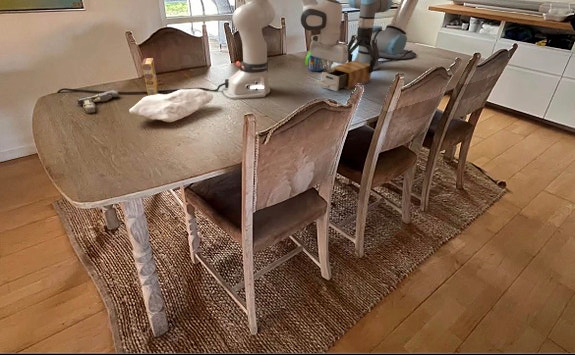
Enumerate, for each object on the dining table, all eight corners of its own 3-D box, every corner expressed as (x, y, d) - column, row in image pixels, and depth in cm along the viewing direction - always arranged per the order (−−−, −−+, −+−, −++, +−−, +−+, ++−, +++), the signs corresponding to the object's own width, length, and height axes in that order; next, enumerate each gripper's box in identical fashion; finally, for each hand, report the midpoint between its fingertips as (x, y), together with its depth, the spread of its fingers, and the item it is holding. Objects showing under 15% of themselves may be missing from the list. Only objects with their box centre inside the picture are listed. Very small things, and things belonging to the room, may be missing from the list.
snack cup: (320, 65, 217) (322, 48, 212) (332, 70, 210) (333, 52, 204) (299, 69, 210) (300, 51, 204) (310, 74, 202) (311, 55, 197)
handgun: (128, 97, 156) (111, 87, 164) (86, 107, 144) (70, 97, 152) (129, 103, 157) (113, 94, 165) (88, 114, 146) (72, 103, 154)
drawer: (328, 94, 173) (330, 79, 170) (312, 88, 179) (313, 74, 175) (357, 83, 188) (359, 70, 185) (342, 79, 194) (343, 66, 190)
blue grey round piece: (426, 55, 246) (429, 41, 242) (391, 61, 229) (393, 46, 224) (387, 47, 271) (389, 34, 267) (353, 52, 254) (354, 38, 249)
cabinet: (348, 89, 183) (350, 71, 178) (331, 84, 190) (332, 66, 185) (369, 81, 195) (372, 64, 190) (352, 76, 202) (354, 60, 197)
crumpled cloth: (117, 110, 146) (113, 90, 140) (195, 92, 166) (194, 73, 160) (143, 139, 134) (140, 118, 128) (223, 116, 154) (224, 96, 148)
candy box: (157, 97, 164) (152, 63, 155) (147, 98, 163) (141, 63, 155) (158, 91, 171) (153, 57, 163) (149, 91, 170) (143, 58, 162)
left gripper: (352, 42, 161) (348, 73, 169) (317, 34, 173) (315, 63, 180) (344, 44, 157) (340, 75, 165) (308, 35, 169) (306, 65, 176)
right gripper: (391, 30, 177) (383, 73, 189) (349, 22, 191) (344, 63, 203) (383, 32, 172) (376, 76, 184) (340, 24, 187) (336, 65, 198)
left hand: (327, 69), depth 173 cm, fingers closed
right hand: (359, 69), depth 193 cm, fingers open, 13 cm apart
